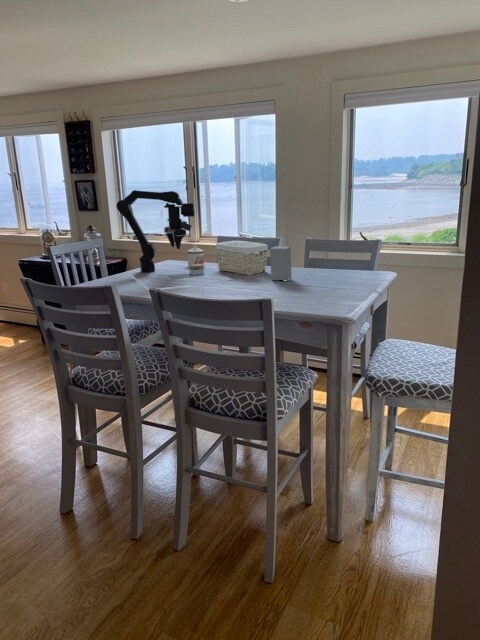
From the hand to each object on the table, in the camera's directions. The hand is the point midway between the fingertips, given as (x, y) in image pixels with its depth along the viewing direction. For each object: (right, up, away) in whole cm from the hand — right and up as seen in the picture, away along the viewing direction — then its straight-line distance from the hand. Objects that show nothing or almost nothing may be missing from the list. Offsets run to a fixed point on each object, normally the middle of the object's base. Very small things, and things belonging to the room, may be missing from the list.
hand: (175, 247), depth 241 cm
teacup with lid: (+9, -7, +21) cm, 24 cm away
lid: (+11, -11, -4) cm, 16 cm away
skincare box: (+52, -18, -17) cm, 58 cm away
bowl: (+11, -14, -3) cm, 18 cm away
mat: (+3, -16, -10) cm, 19 cm away
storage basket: (+34, -12, +6) cm, 36 cm away
